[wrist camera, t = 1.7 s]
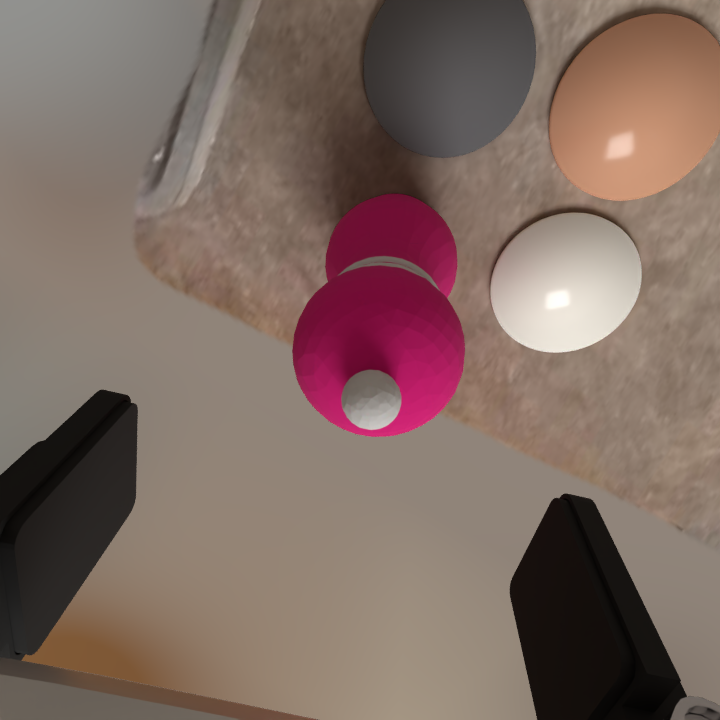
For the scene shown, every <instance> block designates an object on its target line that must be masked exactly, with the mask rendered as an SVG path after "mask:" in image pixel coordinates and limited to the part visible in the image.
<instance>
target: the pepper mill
mask: <svg viewBox="0 0 720 720" xmlns="http://www.w3.org/2000/svg"><path fill="white" fill-rule="evenodd" d="M325 267H326V275H327V280H328V283H326V284H325V285H324V286H323V287H322V288H321V289H319V290H318V291H317V292H316V293H315V294H314V295H313V296H312V298H311V299H310V300H309V301H308V303H307V305H306V307H305V309H304V310H303V312H302V314H301V316H300V318H299V321H298V324H297V327H296V330H295V333H294V341H293V350H292V352H293V365H294V369H295V373H296V377H297V380H298V383H299V385H300V387H301V389H302V391H303V393H304V394H305V396H306V398H307V399H308V401H309V402H310V403H311V404H312V406H313V407H314V408H315V409H316V410H317V411H318V412H319V413H320V414H322V415H323V416H324V417H325V418H326V419H327V420H328V421H330V422H331V423H333V424H335V425H337V426H338V427H340V428H342V429H344V430H347V431H349V432H352V433H355V434H359V435H365V436H372V437H377V436H378V437H379V436H394V435H398V434H402V433H405V432H409V431H411V430H413V429H415V428H417V427H419V426H422V425H423V424H425V423H426V422H428V421H430V420H431V419H433V418H434V417H435V416H436V415H437V414H438V413H439V412H440V411H441V410H442V409H443V408H444V407H445V406H446V405H447V403H448V402H449V401H450V399H451V398H452V396H453V395H454V393H455V391H456V388H457V386H458V383H459V381H460V378H461V375H462V372H463V365H464V354H465V343H464V335H463V331H462V327H461V323H460V321H459V318H458V316H457V314H456V313H455V311H454V309H453V307H452V305H451V304H450V302H449V301H448V299H447V297H448V296H449V294H450V292H451V290H452V287H453V285H454V282H455V277H456V271H457V250H456V245H455V241H454V238H453V235H452V233H451V231H450V229H449V227H448V226H447V224H446V223H445V221H444V220H443V219H442V217H441V216H440V215H439V214H438V213H437V212H436V211H435V210H433V209H432V208H431V207H429V206H428V205H426V204H425V203H423V202H422V201H420V200H418V199H416V198H414V197H412V196H409V195H404V194H385V195H381V196H378V197H375V198H372V199H369V200H366V201H364V202H362V203H360V204H358V205H356V206H355V207H354V208H353V209H351V210H350V211H349V212H347V214H346V215H345V216H344V217H343V218H342V219H341V220H340V222H339V223H338V224H337V226H336V227H335V229H334V231H333V234H332V236H331V238H330V242H329V246H328V249H327V253H326V266H325Z"/></svg>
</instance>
